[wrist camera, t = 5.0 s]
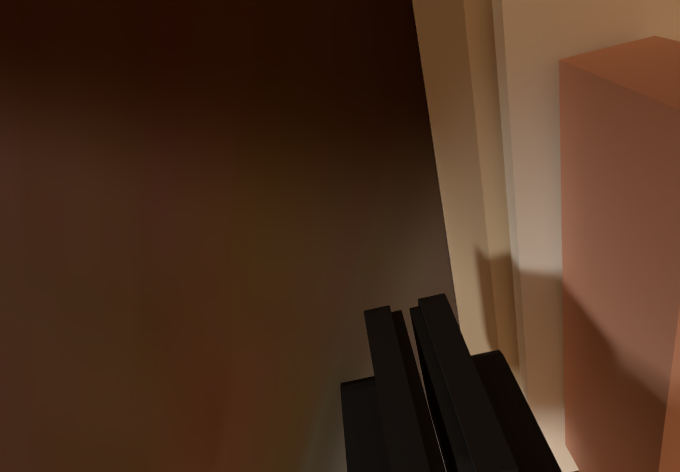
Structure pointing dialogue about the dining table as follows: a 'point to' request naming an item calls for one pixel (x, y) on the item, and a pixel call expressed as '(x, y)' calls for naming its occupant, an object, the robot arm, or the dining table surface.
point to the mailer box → (470, 167)
